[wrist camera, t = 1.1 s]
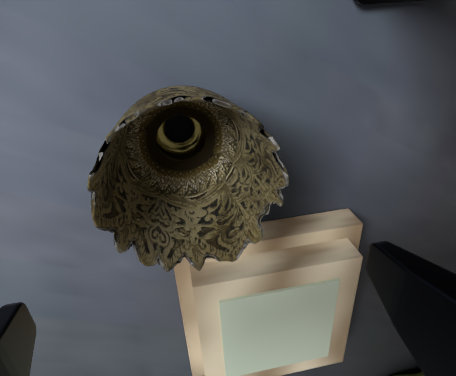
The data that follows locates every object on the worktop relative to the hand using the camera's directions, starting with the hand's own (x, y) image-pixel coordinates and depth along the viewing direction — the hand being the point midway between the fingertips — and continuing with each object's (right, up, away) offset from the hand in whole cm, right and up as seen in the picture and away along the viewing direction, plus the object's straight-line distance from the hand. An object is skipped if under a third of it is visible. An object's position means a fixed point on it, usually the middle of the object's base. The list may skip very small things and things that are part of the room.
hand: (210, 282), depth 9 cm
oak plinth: (+3, -6, +18) cm, 19 cm away
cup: (-2, +6, +11) cm, 13 cm away
